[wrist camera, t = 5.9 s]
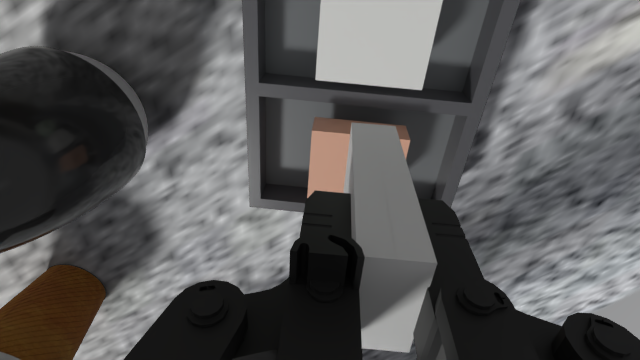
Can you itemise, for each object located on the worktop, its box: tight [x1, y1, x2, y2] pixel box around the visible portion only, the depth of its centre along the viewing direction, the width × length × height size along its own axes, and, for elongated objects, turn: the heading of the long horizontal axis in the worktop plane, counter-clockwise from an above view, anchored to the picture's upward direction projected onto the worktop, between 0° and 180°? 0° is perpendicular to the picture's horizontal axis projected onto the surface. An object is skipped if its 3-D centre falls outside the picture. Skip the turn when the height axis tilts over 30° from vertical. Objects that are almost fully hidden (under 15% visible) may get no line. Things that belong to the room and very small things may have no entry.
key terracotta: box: [307, 117, 410, 198], centre depth 23 cm, size 6×6×2 cm
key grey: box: [315, 0, 443, 90], centre depth 18 cm, size 6×6×2 cm
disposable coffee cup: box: [0, 265, 106, 360], centre depth 33 cm, size 10×10×12 cm
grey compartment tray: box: [242, 0, 521, 212], centre depth 21 cm, size 26×14×4 cm, turn 176°
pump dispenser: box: [0, 46, 148, 253], centre depth 21 cm, size 10×10×15 cm
